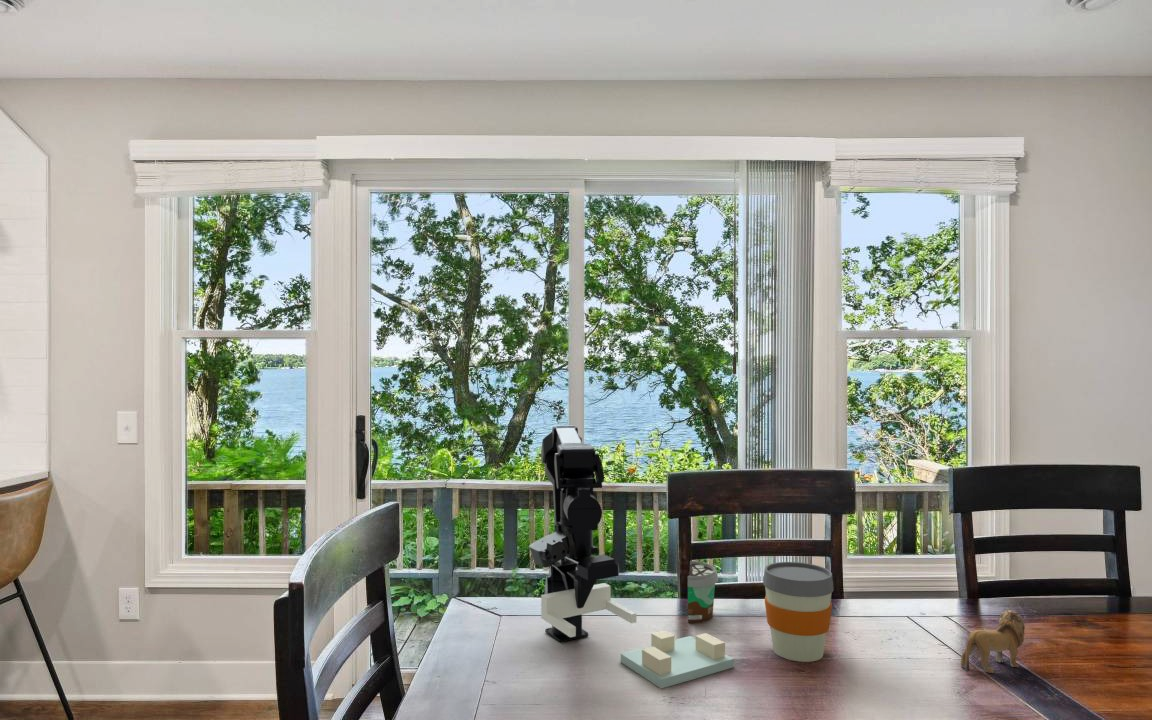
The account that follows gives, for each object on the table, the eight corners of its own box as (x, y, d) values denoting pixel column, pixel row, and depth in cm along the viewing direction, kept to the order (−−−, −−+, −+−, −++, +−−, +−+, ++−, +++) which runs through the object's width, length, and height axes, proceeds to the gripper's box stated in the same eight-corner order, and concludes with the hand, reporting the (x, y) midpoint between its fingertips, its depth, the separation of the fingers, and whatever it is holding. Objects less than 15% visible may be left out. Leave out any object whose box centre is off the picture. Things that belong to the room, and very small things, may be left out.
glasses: (541, 618, 122) (541, 594, 122) (604, 604, 129) (604, 582, 129) (570, 637, 114) (570, 612, 114) (636, 622, 120) (636, 598, 120)
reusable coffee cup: (836, 645, 135) (836, 566, 135) (830, 671, 124) (830, 585, 124) (769, 634, 140) (769, 558, 140) (757, 658, 129) (757, 575, 129)
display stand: (620, 661, 127) (620, 639, 127) (689, 643, 135) (689, 622, 135) (661, 688, 117) (661, 664, 117) (733, 667, 125) (733, 644, 125)
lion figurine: (1003, 653, 131) (1003, 604, 131) (1033, 664, 126) (1033, 613, 126) (952, 668, 125) (952, 617, 125) (981, 681, 120) (981, 628, 120)
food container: (718, 627, 144) (718, 578, 144) (687, 625, 145) (687, 576, 145) (718, 607, 156) (718, 561, 156) (690, 605, 157) (690, 560, 157)
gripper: (512, 512, 129) (512, 598, 129) (563, 534, 113) (563, 632, 113) (565, 506, 135) (565, 588, 135) (621, 526, 118) (621, 619, 118)
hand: (576, 606), depth 125 cm, fingers closed on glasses, 2 cm apart
